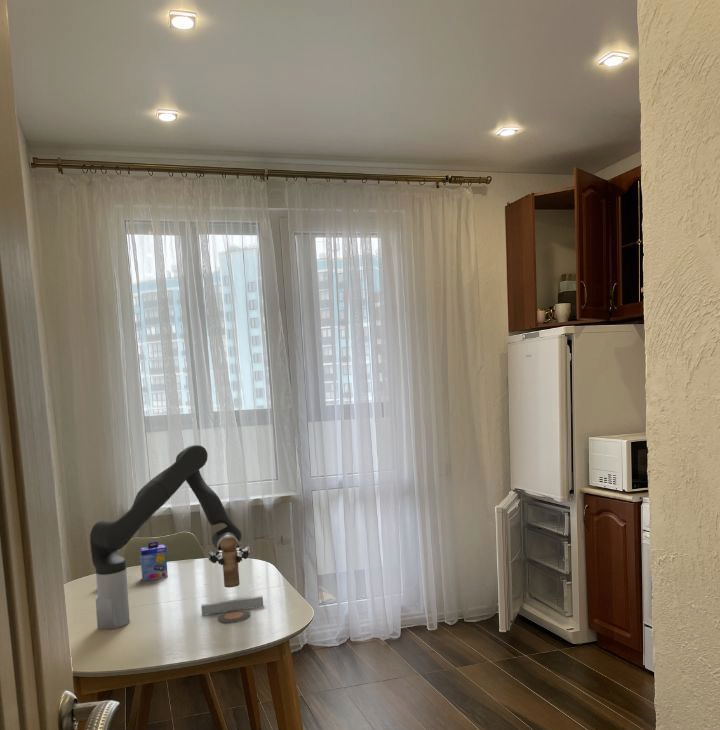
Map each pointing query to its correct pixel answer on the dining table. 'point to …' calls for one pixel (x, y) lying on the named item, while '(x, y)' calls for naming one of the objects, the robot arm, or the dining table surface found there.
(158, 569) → the ink cartridge box
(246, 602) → the low wall
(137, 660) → the dining table surface
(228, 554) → the skittle
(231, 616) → the pad
